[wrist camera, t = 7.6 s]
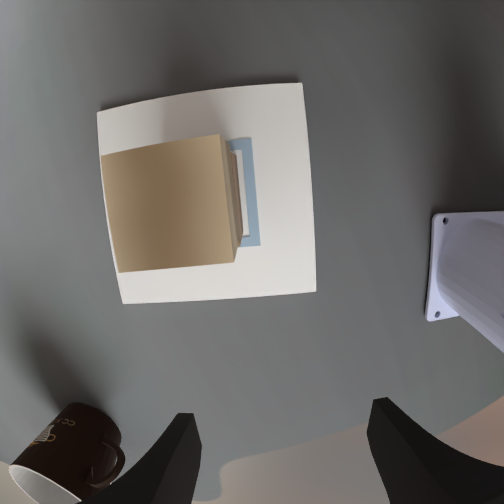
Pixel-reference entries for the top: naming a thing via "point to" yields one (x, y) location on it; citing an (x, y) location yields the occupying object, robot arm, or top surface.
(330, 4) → the top surface
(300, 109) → the board
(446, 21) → the top surface
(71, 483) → the coffee mug
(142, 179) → the maple block
